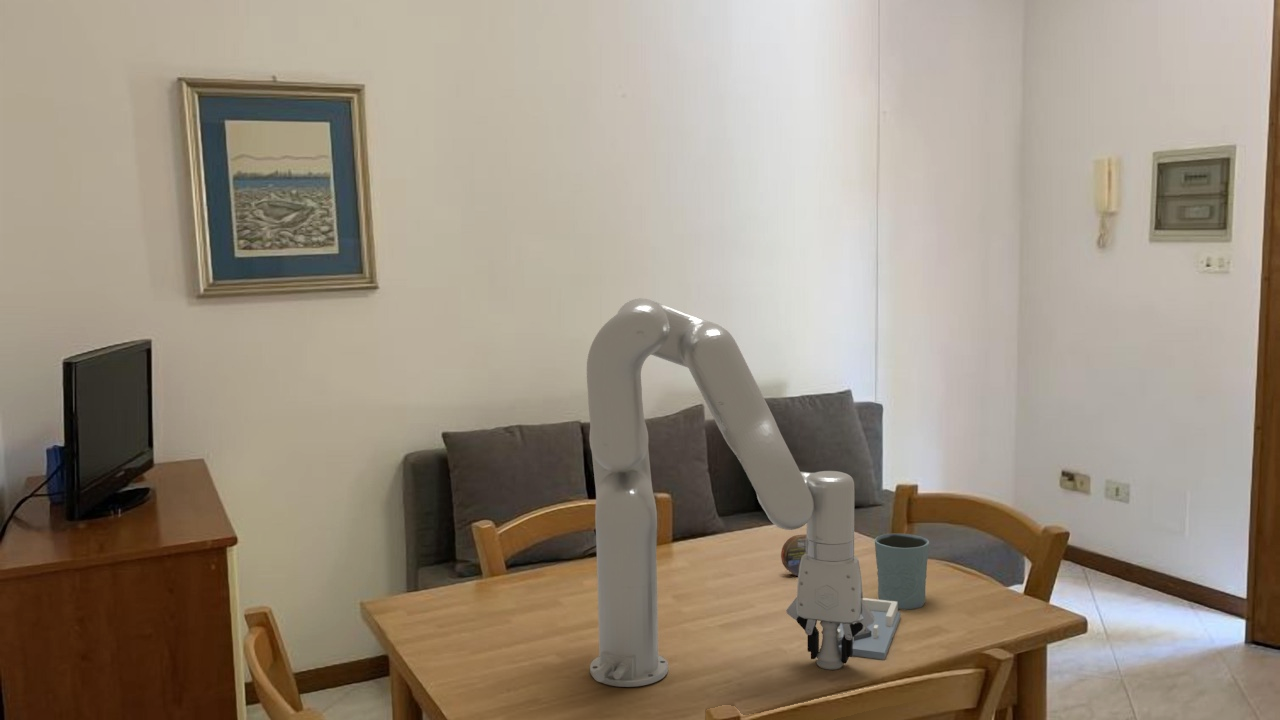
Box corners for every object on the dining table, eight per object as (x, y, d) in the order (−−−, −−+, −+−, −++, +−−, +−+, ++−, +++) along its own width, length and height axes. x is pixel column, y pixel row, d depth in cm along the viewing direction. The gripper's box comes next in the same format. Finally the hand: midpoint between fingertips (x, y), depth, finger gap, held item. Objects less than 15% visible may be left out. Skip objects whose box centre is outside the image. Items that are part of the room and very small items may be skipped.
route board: (884, 659, 169) (884, 642, 169) (823, 652, 173) (823, 634, 172) (900, 617, 188) (900, 601, 187) (845, 611, 191) (845, 596, 191)
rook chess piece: (824, 657, 171) (824, 610, 170) (848, 664, 168) (849, 616, 167) (811, 666, 167) (811, 618, 166) (835, 673, 164) (835, 624, 163)
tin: (785, 578, 211) (785, 538, 210) (779, 574, 214) (778, 534, 213) (851, 570, 215) (851, 531, 214) (843, 566, 218) (843, 527, 217)
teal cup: (890, 613, 190) (891, 550, 189) (864, 595, 200) (864, 535, 199) (939, 607, 193) (940, 544, 192) (911, 589, 203) (911, 530, 201)
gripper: (773, 550, 165) (773, 660, 167) (880, 560, 159) (879, 674, 161) (784, 538, 172) (784, 643, 174) (887, 547, 166) (886, 656, 168)
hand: (830, 657), depth 167 cm, fingers closed on rook chess piece, 4 cm apart
